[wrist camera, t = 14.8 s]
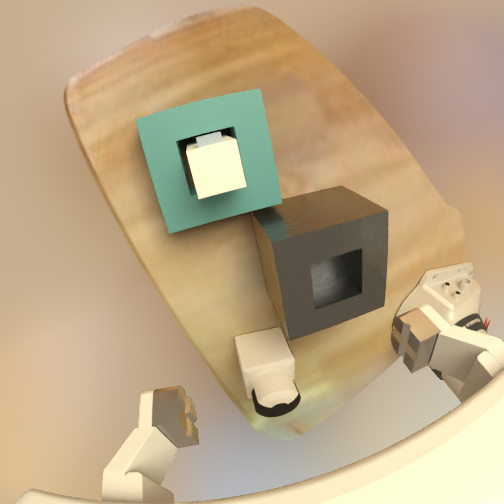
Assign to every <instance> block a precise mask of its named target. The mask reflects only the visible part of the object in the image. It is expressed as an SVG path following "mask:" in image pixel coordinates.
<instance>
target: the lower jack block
mask: <svg viewBox="0 0 504 504" xmlns="http://www.w3.org/2000/svg"><path fill="white" fill-rule="evenodd" d="M136 124H137V128H138V132H139V136H140V139H141V143H142V147H143V150H144V154H145V158H146V161H147V165H148V168H149V171H150V175H151V178H152V181H153V185H154V188H155V191H156V195H157V198H158V201H159V204H160V207H161V210H162V213H163V216H164V219H165V222H166V225H167V228H168V231H169V234H171V233H174V232H178V231H181V230H185V229H188V228H192V227H195V226H199V225H202V224H206V223H209V222H213V221H217V220H220V219H224V218H228V217H231V216H235V215H239V214H243V213H246V212H250V211H254V210H258V209H262V208H266V207H269V206H273V205H277V204H281V203H282V198H281V192H280V187H279V181H278V176H277V170H276V165H275V160H274V154H273V149H272V144H271V139H270V134H269V129H268V124H267V119H266V114H265V109H264V105H263V100H262V95H261V91H260V89H254V90H248V91H243V92H238V93H232V94H228V95H223V96H218V97H214V98H209V99H205V100H201V101H197V102H193V103H189V104H185V105H182V106H178V107H175V108H171V109H168V110H164V111H161V112H158V113H154V114H151V115H148V116H145V117H142V118H139V119H136ZM228 127H229V129H230V133H231V137H232V138H234V139H236V140H237V145H238V149H239V154H240V159H241V163H242V168H243V172H244V177H245V181H246V186H247V187H243V188H239V189H235V190H231V191H228V192H224V193H220V194H216V195H213V196H209V197H205V198H202V199H198V195H197V191H196V188H195V186H192V187H191V186H190V182H189V179H188V175H187V171H186V168H185V164H184V160H183V156H182V153H181V149H180V145H179V141H178V140H181V139H185V138H189V137H192V136H196V135H200V134H204V133H207V132H211V131H216V130H220V129H224V128H228Z"/></svg>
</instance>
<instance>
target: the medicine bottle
mask: <svg viewBox="0 0 504 504" xmlns="http://www.w3.org/2000/svg"><path fill="white" fill-rule="evenodd" d="M234 340H235V345H236V350H237V355H238V360H239V365H240V370H241V374H242V378H243V382H244V386H245V390H246V394H247V398H248V399H253V402H254V406H255V410H256V412H257V413H258V414H260V415H262V416H265V417H277V416H281V415H284V414H287V413H289V412H291V411H292V410H294V409H295V408H296V407H297V406H298V404H299V402H300V399H301V397H300V394H299V391H298V389H297V387H296V384H295V358H294V356H293V354H292V352H291V349H290V347H289V345H288V342H287V340H286V338H285V336H284V333H283V331H282V329H281V327H277V328H272V329H268V330H263V331H258V332H253V333H249V334H244V335H239V336H235V338H234Z"/></svg>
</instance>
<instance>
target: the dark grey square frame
mask: <svg viewBox="0 0 504 504" xmlns="http://www.w3.org/2000/svg"><path fill="white" fill-rule="evenodd" d="M250 215H251V219H252V224H253V228H254V233H255V237H256V242H257V247H258V251H259V256H260V260H261V265H262V270H263V274H264V279H265V284H266V288H267V292H268V294H269V297H270V299H271V301H272V303H273V305H274V308H275V310H276V312H277V314H278V317H279V319H280V321H281V323H282V325H283V328H284V330H285V332H286V334H287V337H288V339H289V341H290V340H293V339H296V338H299V337H302V336H305V335H308V334H311V333H314V332H317V331H320V330H323V329H326V328H328V327H331V326H334V325H337V324H340V323H342V322H345V321H348V320H350V319H353V318H355V317H358V316H361V315H363V314H366V313H368V312H371V311H373V310H376V309H378V308H381V307H383V306H384V302H385V291H386V276H387V257H388V210H386V209H385V208H383V207H381V206H379V205H377V204H375V203H374V202H372V201H370V200H368V199H366V198H364V197H362V196H361V195H359V194H357V193H355V192H353V191H351V190H349V189H347V188H345V187H343V186H338V187H333V188H329V189H325V190H320V191H316V192H312V193H307V194H303V195H299V196H295V197H291V198H287V199H283V200H282V203H281V204H277V205H273V206H269V207H266V208H262V209H258V210H254V211H250Z"/></svg>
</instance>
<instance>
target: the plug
mask: <svg viewBox="0 0 504 504" xmlns="http://www.w3.org/2000/svg"><path fill="white" fill-rule="evenodd" d="M196 140H197V141H196V142H192V143H189V144H187V150H186V154H187V157H188V161H189V165H190V169H191V173H192V176H193V180H194V184H195V188H196V191H197V195H198V199H202V198H205V197H209V196H213V195H216V194H220V193H224V192H228V191H231V190H235V189H239V188H243V187H247V186H246V181H245V177H244V172H243V168H242V163H241V159H240V154H239V149H238V145H237V140H236V139H234V138H232V137H229V136H226V135H221V132H215V133H211V134H207V135H203V136H199V137H196Z"/></svg>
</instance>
